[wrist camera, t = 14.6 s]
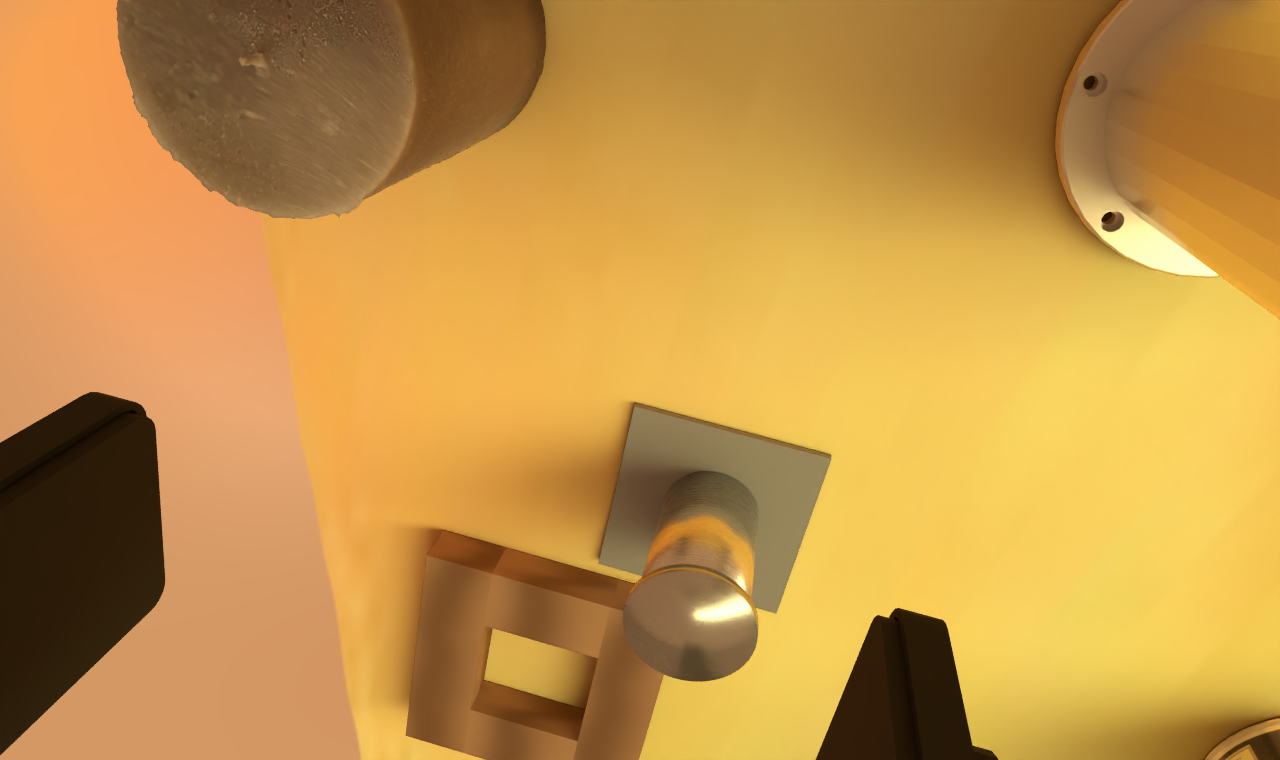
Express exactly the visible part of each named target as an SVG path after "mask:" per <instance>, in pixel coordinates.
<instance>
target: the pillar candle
mask: <svg viewBox="0 0 1280 760" xmlns="http://www.w3.org/2000/svg"><path fill="white" fill-rule="evenodd" d="M116 9H117V21H118V38H119V42H120V49H121V56H122V59H123V62H124V65H125V68H126V73H127V76H128V78H129V81H130V85H131V88H132V91H133V99H134V104H135V106H136V109H137V110H138V111H139V113H140V114H141V116H142V117H144V118H145V119H147V121H148V127H149V128H150V130H151V132H152V134H153V136H154V137H155V138H156V139H157V141H158V143H159V144H160V145H161V146H162V148H163V149H165V150H167V151H169V152H170V153H171V155H172V158H173V159H174V160H175V161H178V162H180V163H182V164H183V165H184V167H186V168H187V169H188V170H189V171H191V172H192V174H194V175H195V177H196V178H197V179H199V180H200V181H201V183H202V184H203V186H204V187H206V188H207V189H208V190H209V191H210V192H211V191H217V192H219V193H220V194H222V195H223V196H224V197H225V198H226V199H227V200H228V201H229V202H231V203H233V204H234V205H236V206H241V207H245V208H248V209H251V210H254V211H257V212H262V213H266V214H269V215H270V216H271V217H274V218H277V217H278V218H280V217H281V218H293V219H295V218H303V219H313V218H318V217H322V216H326V215H329V214H332V213H335V214H336V215H337V216H338V217H339V216H340V215H341V214H343V213H349V212H351V211H352V210H354V209H355V208H357V207H358V206H359V205H360V204H361V202H362V201H363V200H364V199H366V198H368V197H370V196H372V195H374V194H376V193H378V192H380V191H382V190H383V189H385V188H387V187H389V186H391V185H394V184H396V183H397V182H399V181H401V180H403V179H405V178H408V177H410V176H412V175H413V174H415V173H417V172H419V171H421V170H423V169H425V168H429V167H430V166H431V165H433V164H436V163H440V162H441V161H443V160H446V159H448V158H450V157H452V156H454V155H456V154H457V153H460V152H461V151H463V150H465V149H467V148H469V147H471V146H473V145H474V144H476V143H478V142H480V141H482V140H483V139H486V138H488V137H489V136H491V135H492V134H494V133H495V132H498V131H500V130H501V129H503V128H505V127H506V126H507V125H509V123H510V122H511V121H512V120H513V119H514V118H515V117H516V116H517V115H518V114H519V113H520V111H521V110H522V109H523V108H524V106H525V105H526V104H527V102H528V100H529V99H530V97H531V95H532V93H533V90H534V89H535V86H536V84H537V82H538V79H539V76H540V75H541V74H542V70H543V61H544V55H545V48H546V39H545V35H546V32H545V18H544V12H543V7H542V4H541V0H118V2H117V8H116Z"/></svg>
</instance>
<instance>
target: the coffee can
mask: <svg viewBox="0 0 1280 760" xmlns="http://www.w3.org/2000/svg"><path fill="white" fill-rule="evenodd" d="M1205 760H1280V718H1276V719H1272V720H1268V721H1264V722H1261V723H1258V724H1255V725H1252V726H1250V727H1247V728H1245V729H1243V730H1240V731H1238V732H1237V733H1235V734H1233V735H1231V736H1230V737H1228V738H1227V739H1225V740H1224V741H1223V742H1221V743H1220V744H1219V745H1217V746H1216V747H1215V748H1214V749H1213V750H1212V751H1211V752H1210V753H1209V755H1208V756H1207V757H1206V758H1205Z"/></svg>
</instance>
